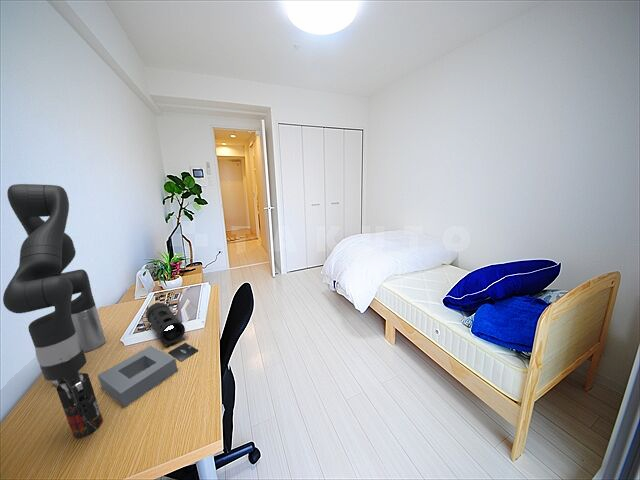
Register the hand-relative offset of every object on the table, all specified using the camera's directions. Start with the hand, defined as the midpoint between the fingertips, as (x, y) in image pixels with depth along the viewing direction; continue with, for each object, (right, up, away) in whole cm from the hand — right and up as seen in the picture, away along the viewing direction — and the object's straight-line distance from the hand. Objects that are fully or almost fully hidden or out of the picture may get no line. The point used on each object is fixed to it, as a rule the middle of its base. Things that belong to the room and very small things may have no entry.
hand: (79, 407), depth 64 cm
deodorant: (+1, -7, +2) cm, 7 cm away
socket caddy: (+3, -3, +18) cm, 18 cm away
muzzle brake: (-6, +3, +45) cm, 46 cm away
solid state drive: (+10, 0, +31) cm, 33 cm away
